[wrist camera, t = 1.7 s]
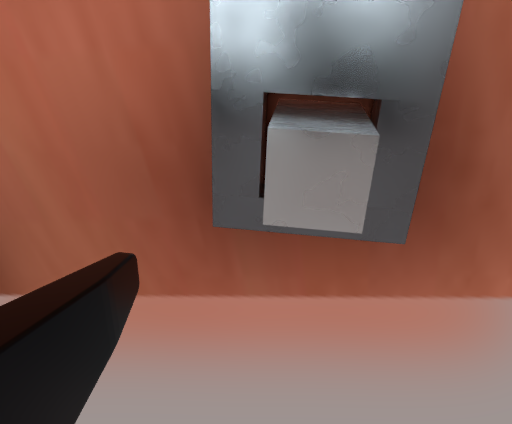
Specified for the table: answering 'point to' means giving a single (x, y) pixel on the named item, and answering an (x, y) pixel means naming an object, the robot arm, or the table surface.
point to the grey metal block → (319, 165)
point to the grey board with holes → (327, 94)
